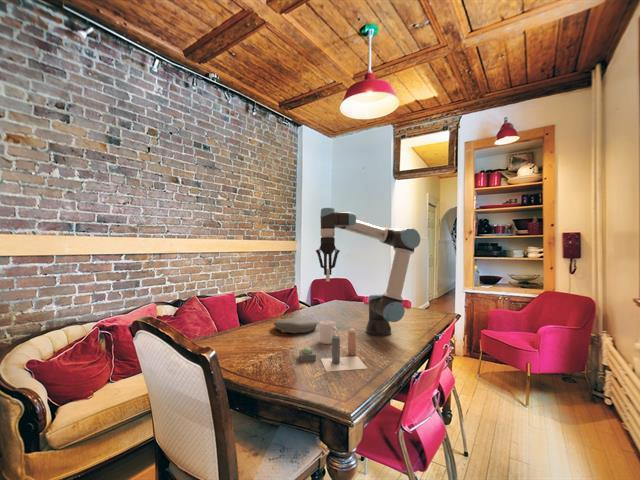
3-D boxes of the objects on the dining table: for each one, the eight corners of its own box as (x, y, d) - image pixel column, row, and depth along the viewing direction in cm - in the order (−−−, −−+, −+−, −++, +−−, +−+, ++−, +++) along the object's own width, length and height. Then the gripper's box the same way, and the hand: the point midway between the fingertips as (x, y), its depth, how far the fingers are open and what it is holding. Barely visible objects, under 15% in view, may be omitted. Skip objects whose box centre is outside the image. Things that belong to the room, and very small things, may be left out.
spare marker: (354, 353, 149) (354, 328, 149) (356, 356, 146) (356, 330, 146) (347, 353, 149) (347, 328, 149) (349, 356, 145) (349, 330, 145)
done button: (310, 355, 145) (310, 347, 145) (312, 358, 141) (312, 350, 141) (303, 356, 144) (303, 347, 144) (303, 359, 140) (303, 350, 140)
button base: (313, 355, 147) (313, 349, 147) (315, 361, 140) (315, 354, 140) (299, 356, 145) (299, 350, 146) (300, 362, 139) (300, 355, 139)
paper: (357, 356, 145) (357, 356, 145) (367, 368, 131) (367, 368, 131) (320, 359, 142) (320, 358, 142) (326, 372, 128) (326, 371, 128)
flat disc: (326, 327, 196) (326, 320, 196) (300, 338, 172) (300, 331, 172) (292, 322, 211) (292, 315, 211) (264, 331, 187) (264, 324, 188)
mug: (333, 347, 159) (333, 326, 159) (316, 342, 167) (316, 322, 167) (343, 342, 165) (343, 323, 165) (326, 338, 173) (326, 319, 173)
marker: (337, 360, 139) (337, 333, 139) (341, 363, 136) (341, 336, 135) (330, 361, 138) (330, 334, 138) (333, 364, 134) (333, 337, 134)
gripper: (337, 237, 166) (338, 279, 166) (314, 237, 164) (314, 280, 163) (341, 236, 158) (341, 281, 158) (316, 236, 156) (316, 282, 156)
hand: (327, 281), depth 161 cm, fingers closed
